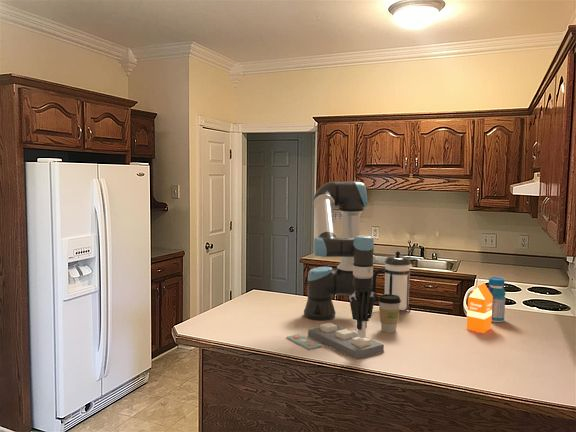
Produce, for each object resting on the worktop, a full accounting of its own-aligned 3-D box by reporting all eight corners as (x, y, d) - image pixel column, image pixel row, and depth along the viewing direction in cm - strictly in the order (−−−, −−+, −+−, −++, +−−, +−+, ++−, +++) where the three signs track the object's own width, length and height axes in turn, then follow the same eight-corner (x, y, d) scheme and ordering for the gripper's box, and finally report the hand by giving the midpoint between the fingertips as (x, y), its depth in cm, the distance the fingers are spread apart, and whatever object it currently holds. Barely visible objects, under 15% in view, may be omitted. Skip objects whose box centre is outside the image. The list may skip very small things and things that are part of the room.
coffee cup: (400, 334, 205) (401, 300, 204) (377, 332, 207) (377, 298, 206) (399, 327, 215) (400, 294, 213) (377, 325, 217) (378, 293, 215)
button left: (320, 332, 202) (320, 324, 202) (329, 330, 205) (329, 322, 204) (327, 336, 198) (327, 327, 197) (337, 333, 200) (337, 325, 200)
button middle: (335, 339, 194) (335, 331, 193) (345, 337, 196) (345, 328, 196) (343, 343, 189) (343, 334, 189) (353, 340, 192) (353, 332, 192)
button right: (351, 347, 185) (352, 338, 185) (361, 344, 188) (361, 335, 188) (360, 351, 181) (360, 342, 181) (370, 348, 184) (370, 339, 184)
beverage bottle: (499, 323, 222) (501, 281, 220) (481, 319, 228) (483, 278, 226) (507, 320, 227) (509, 278, 225) (490, 316, 233) (492, 275, 232)
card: (286, 338, 199) (286, 336, 199) (298, 335, 202) (298, 333, 202) (309, 349, 186) (309, 347, 186) (321, 347, 189) (321, 345, 189)
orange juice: (466, 328, 214) (468, 284, 212) (474, 324, 220) (476, 281, 218) (484, 333, 208) (486, 287, 207) (491, 328, 215) (493, 284, 213)
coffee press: (390, 304, 254) (391, 247, 251) (416, 310, 243) (419, 251, 240) (370, 310, 242) (372, 251, 239) (398, 317, 230) (399, 255, 228)
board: (308, 336, 202) (308, 329, 201) (334, 330, 209) (334, 323, 209) (356, 359, 177) (356, 351, 176) (383, 352, 184) (383, 344, 184)
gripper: (356, 280, 175) (355, 343, 177) (382, 276, 183) (380, 337, 185) (343, 276, 182) (342, 337, 184) (368, 273, 189) (367, 331, 191)
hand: (361, 337), depth 184 cm, fingers closed
